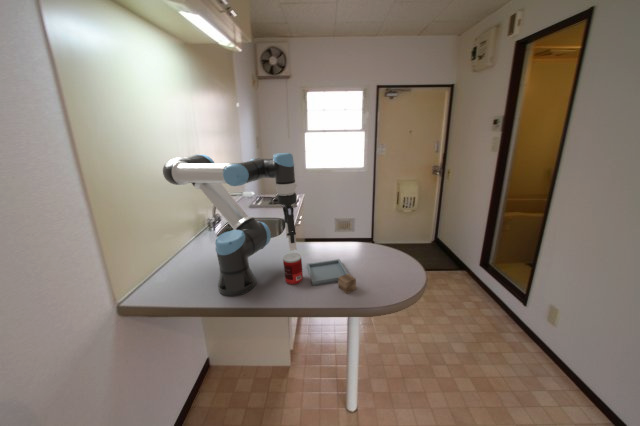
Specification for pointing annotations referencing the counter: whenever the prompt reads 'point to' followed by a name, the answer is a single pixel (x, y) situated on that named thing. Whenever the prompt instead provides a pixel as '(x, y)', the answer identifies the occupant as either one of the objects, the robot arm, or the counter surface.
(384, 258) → the counter surface
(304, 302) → the counter surface
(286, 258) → the canned food
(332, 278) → the tray
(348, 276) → the walnut block
